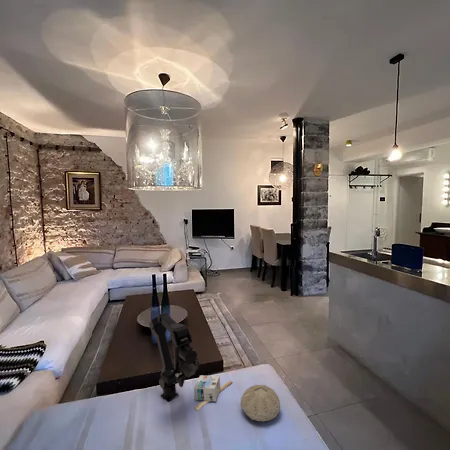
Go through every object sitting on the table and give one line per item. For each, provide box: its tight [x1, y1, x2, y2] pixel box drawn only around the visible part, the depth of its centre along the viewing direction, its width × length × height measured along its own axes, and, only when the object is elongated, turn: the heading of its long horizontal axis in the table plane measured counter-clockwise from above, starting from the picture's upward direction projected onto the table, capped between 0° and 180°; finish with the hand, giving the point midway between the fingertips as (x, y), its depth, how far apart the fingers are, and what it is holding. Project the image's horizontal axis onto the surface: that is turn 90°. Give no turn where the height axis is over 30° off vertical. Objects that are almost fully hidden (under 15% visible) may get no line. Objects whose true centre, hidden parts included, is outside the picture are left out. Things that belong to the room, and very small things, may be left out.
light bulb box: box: [193, 374, 221, 402], centre depth 137 cm, size 11×7×11 cm
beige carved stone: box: [240, 384, 281, 422], centre depth 125 cm, size 18×18×10 cm
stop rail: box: [193, 380, 234, 411], centre depth 137 cm, size 2×26×1 cm, turn 139°
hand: (181, 386), depth 126 cm, fingers closed
